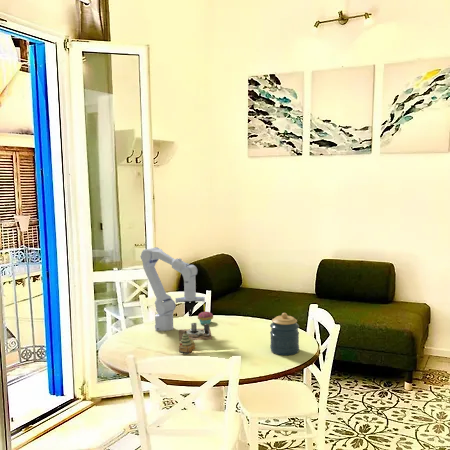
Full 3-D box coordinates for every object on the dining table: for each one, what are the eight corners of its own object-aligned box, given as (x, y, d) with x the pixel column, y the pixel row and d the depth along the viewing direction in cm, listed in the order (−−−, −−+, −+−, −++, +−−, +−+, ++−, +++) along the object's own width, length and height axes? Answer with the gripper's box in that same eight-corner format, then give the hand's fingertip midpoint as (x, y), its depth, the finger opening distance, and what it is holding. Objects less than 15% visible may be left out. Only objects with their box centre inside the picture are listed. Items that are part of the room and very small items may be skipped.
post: (191, 335, 241) (191, 324, 240) (191, 333, 243) (191, 323, 243) (196, 335, 241) (196, 324, 241) (196, 333, 244) (196, 322, 243)
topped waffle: (185, 347, 226) (184, 327, 225) (197, 349, 224) (196, 328, 223) (177, 353, 218) (176, 332, 218) (189, 355, 216) (189, 333, 215)
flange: (183, 335, 240) (182, 324, 240) (190, 330, 247) (190, 319, 247) (205, 338, 235) (205, 326, 235) (212, 333, 242) (212, 322, 242)
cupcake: (195, 323, 264) (195, 302, 263) (209, 321, 267) (209, 300, 266) (201, 327, 256) (201, 305, 255) (216, 325, 260) (215, 303, 259)
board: (179, 343, 233) (179, 341, 233) (179, 331, 250) (178, 329, 250) (212, 341, 234) (212, 339, 234) (209, 330, 252) (209, 328, 252)
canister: (280, 344, 229) (280, 307, 227) (304, 349, 220) (304, 312, 219) (264, 351, 219) (264, 313, 217) (289, 358, 210) (289, 318, 209)
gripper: (175, 291, 238) (176, 318, 239) (205, 290, 240) (205, 317, 241) (175, 288, 245) (175, 314, 246) (203, 287, 247) (204, 313, 248)
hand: (190, 315), depth 244 cm, fingers closed
